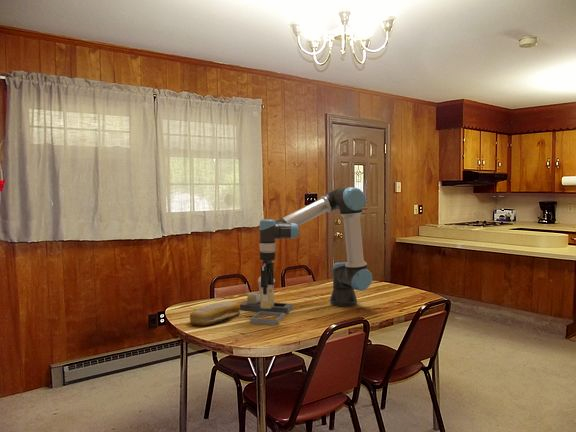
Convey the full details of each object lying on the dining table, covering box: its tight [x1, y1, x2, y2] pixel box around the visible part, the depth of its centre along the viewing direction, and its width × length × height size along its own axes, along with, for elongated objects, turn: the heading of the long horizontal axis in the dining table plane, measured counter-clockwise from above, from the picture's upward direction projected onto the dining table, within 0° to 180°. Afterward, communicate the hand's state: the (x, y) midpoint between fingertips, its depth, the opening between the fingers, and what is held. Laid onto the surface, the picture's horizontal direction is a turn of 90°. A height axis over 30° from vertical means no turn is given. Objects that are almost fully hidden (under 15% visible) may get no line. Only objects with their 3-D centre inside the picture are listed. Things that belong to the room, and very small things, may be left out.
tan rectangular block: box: [261, 289, 275, 309], centre depth 212 cm, size 5×5×8 cm
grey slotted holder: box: [239, 300, 293, 315], centre depth 229 cm, size 26×9×4 cm, turn 74°
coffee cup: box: [257, 276, 276, 302], centre depth 244 cm, size 10×10×15 cm
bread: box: [189, 301, 241, 327], centre depth 214 cm, size 13×26×8 cm, turn 141°
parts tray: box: [250, 311, 286, 326], centre depth 213 cm, size 13×13×2 cm
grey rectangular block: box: [246, 292, 260, 305], centre depth 231 cm, size 5×5×8 cm
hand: (267, 299), depth 212 cm, fingers closed on tan rectangular block, 5 cm apart
